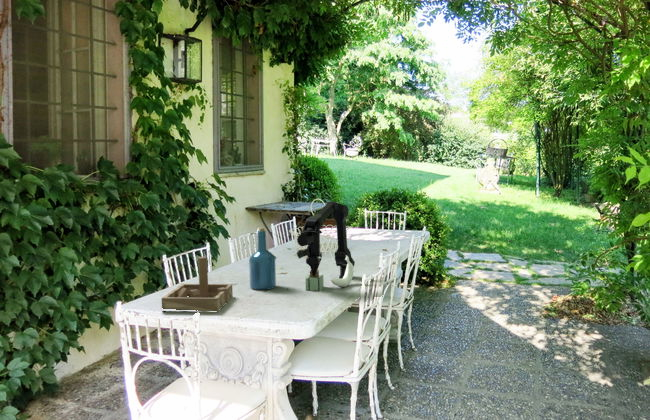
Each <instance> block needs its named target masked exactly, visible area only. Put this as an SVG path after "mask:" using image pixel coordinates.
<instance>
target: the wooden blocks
mask: <svg viewBox="0 0 650 420" xmlns="http://www.w3.org/2000/svg"><path fill="white" fill-rule="evenodd" d="M197 263H198V264H197V265H198V284H199V290H200V292H199V290H197V289H195V290H190V297H189V298H210V297H209V294H208V284H209V277H208V274H209V273H208V257H207V256H198V259H197ZM221 291H226V303H227V304H229V301H228V289H227V288H224V287H222V288H218V289H217V295H218V294H219V293H220V292H221ZM176 297H184V298H188V297H187V289H185V288H182V289H181V290H180V292H179V293H178V294H177V296H176Z"/></svg>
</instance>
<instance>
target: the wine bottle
mask: <svg viewBox="0 0 650 420" xmlns="http://www.w3.org/2000/svg"><path fill="white" fill-rule="evenodd" d="M276 261H277V257H276V256H275V255H274V254H273V253H272V252H270V250H268V249H267V233H266V230H265V227H259V228H258V231H257V251H256V252H254V253H252V254H251V256H250V257H249V263H248V264H249V265H248V266H249V267H248V268H249V287H250V288H251V289H253V290H257V291H261V290H264V291H265V290H270V289H274V288H275V287H276V286H277V270H276V269H277V268H276V267H277V264H276V263H277V262H276Z"/></svg>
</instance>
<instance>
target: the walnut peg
mask: <svg viewBox="0 0 650 420" xmlns="http://www.w3.org/2000/svg"><path fill="white" fill-rule="evenodd" d="M319 271H320V270H319V269H318V270H317V272H316V274H315V276H313V275H312V271H311V269H310V270H309V275H310V278H318V290H319V278H320V272H319Z"/></svg>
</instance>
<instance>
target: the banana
mask: <svg viewBox="0 0 650 420" xmlns="http://www.w3.org/2000/svg"><path fill="white" fill-rule="evenodd" d="M345 260H346V261H347V267H346V271H345V274H344V277H343V278H339V277H337V278H332V279H331V280H330V281H331V283H332V284H333V285H335V286H336V287H339V288H344V287H348V286H349V285H350V284H351V282H352V279H353V276H354V272H355V271H354V266H353V265H352V263H351V262H350V261H349V257H348V256H347V255H346V258H345Z"/></svg>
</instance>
